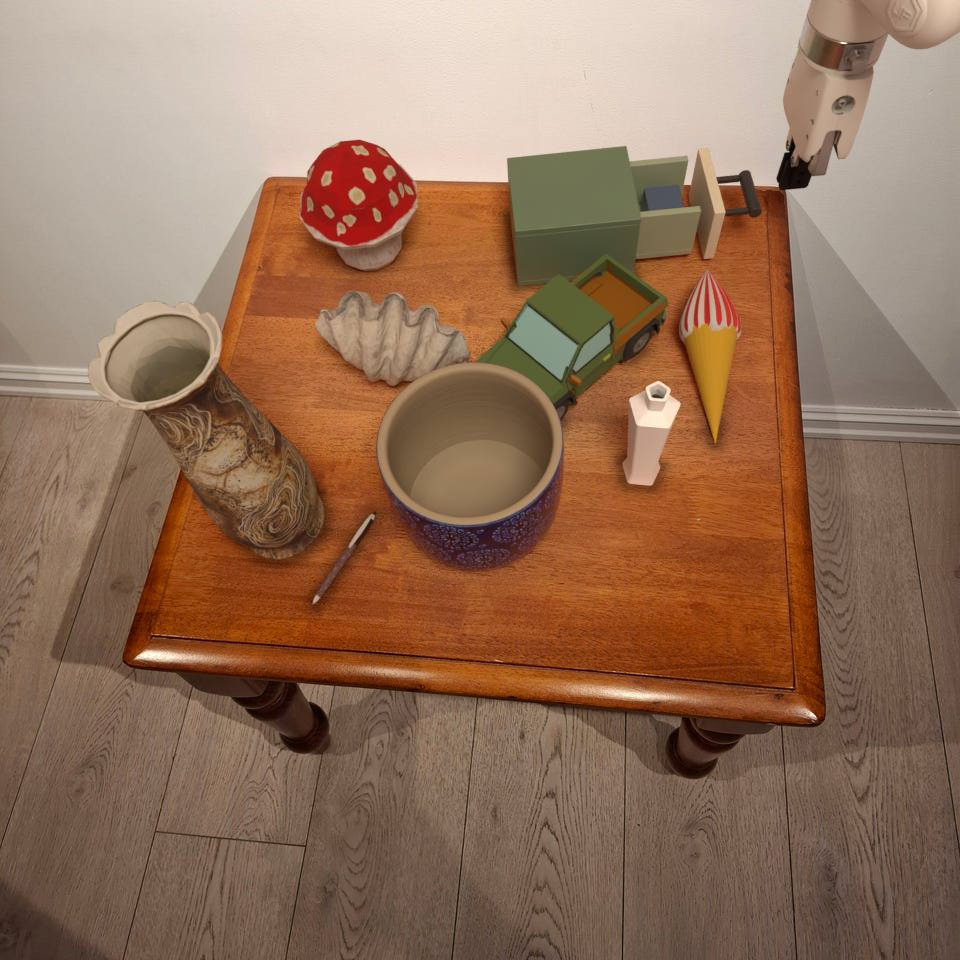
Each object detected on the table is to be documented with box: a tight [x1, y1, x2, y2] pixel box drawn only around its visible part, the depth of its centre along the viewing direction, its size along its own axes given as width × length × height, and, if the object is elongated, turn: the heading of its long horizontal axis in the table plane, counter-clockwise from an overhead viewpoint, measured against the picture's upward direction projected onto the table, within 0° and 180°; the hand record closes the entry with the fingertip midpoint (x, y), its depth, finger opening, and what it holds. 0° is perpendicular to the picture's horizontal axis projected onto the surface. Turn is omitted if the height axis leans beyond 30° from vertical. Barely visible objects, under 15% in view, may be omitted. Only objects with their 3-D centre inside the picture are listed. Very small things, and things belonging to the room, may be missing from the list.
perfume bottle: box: [621, 380, 681, 487], centre depth 80 cm, size 5×4×15 cm
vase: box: [87, 300, 326, 560], centre depth 74 cm, size 10×11×30 cm
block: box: [641, 185, 685, 212], centre depth 97 cm, size 4×4×4 cm
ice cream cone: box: [678, 268, 743, 445], centre depth 90 cm, size 6×6×20 cm
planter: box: [375, 361, 565, 572], centre depth 79 cm, size 16×17×15 cm
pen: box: [312, 511, 377, 605], centre depth 84 cm, size 11×1×1 cm, turn 150°
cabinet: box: [506, 145, 641, 287], centre depth 97 cm, size 14×11×9 cm
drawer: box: [629, 147, 763, 260], centre depth 97 cm, size 17×10×7 cm, turn 94°
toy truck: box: [474, 254, 669, 421], centre depth 89 cm, size 11×21×10 cm, turn 133°
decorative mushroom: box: [299, 139, 419, 272], centre depth 96 cm, size 14×14×15 cm
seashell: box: [314, 290, 471, 387], centre depth 90 cm, size 10×15×10 cm
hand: (791, 183), depth 95 cm, fingers closed
